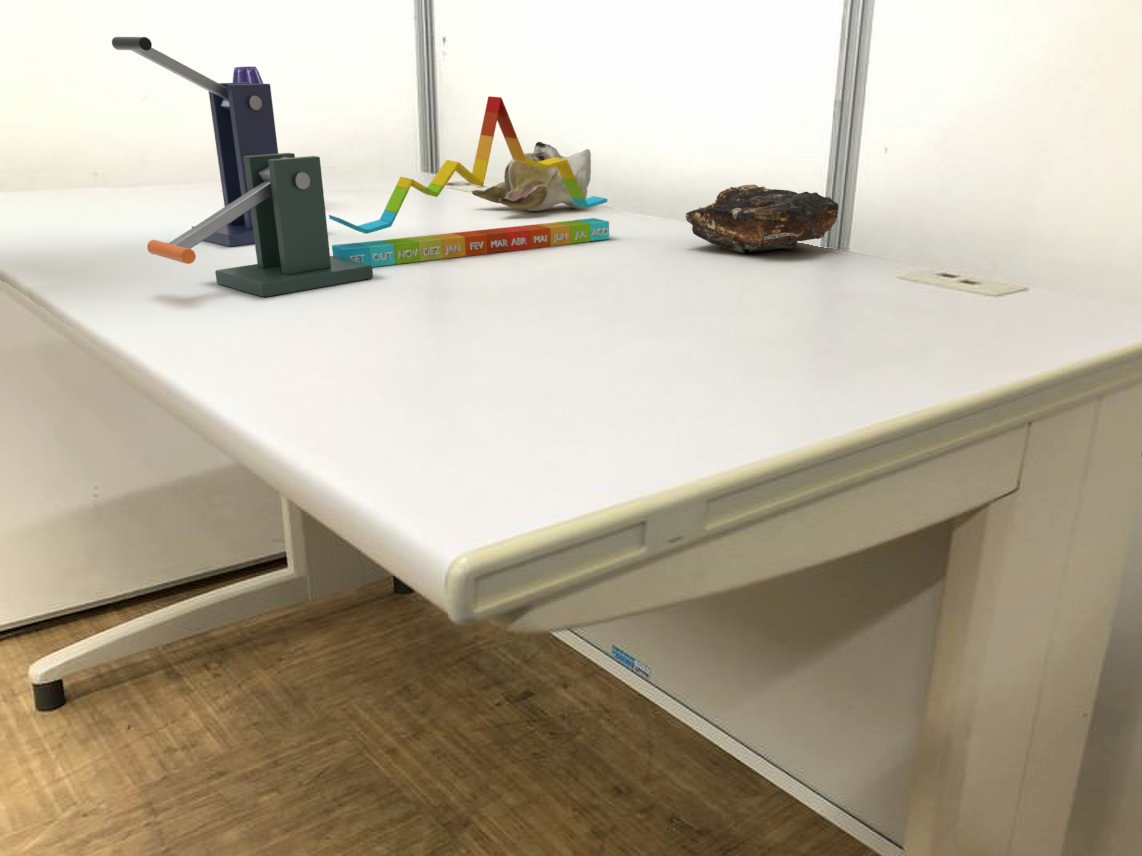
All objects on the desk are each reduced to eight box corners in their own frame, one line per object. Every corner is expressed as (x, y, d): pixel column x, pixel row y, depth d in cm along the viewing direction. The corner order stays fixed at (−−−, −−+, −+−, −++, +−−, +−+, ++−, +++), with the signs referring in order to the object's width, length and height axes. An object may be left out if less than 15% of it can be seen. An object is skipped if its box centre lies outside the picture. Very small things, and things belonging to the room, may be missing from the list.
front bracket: (264, 297, 89) (246, 164, 85) (216, 283, 94) (198, 157, 90) (373, 278, 97) (362, 155, 93) (324, 266, 102) (312, 149, 97)
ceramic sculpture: (608, 139, 132) (496, 151, 125) (612, 210, 135) (503, 225, 129) (571, 133, 141) (464, 145, 134) (575, 200, 144) (472, 214, 138)
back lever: (135, 52, 100) (143, 28, 100) (108, 51, 104) (115, 28, 104) (263, 120, 111) (271, 98, 111) (234, 117, 115) (241, 96, 115)
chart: (346, 270, 100) (330, 102, 94) (333, 265, 102) (316, 100, 97) (610, 239, 117) (610, 95, 111) (594, 235, 119) (592, 93, 113)
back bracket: (230, 246, 111) (207, 85, 105) (193, 237, 116) (169, 83, 110) (322, 234, 118) (306, 83, 112) (283, 226, 123) (266, 81, 117)
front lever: (190, 273, 85) (174, 247, 83) (156, 263, 89) (139, 238, 87) (321, 185, 92) (308, 159, 90) (284, 179, 95) (271, 154, 94)
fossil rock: (855, 245, 114) (859, 189, 112) (791, 264, 104) (794, 204, 102) (746, 232, 122) (748, 180, 120) (676, 250, 112) (677, 193, 110)
